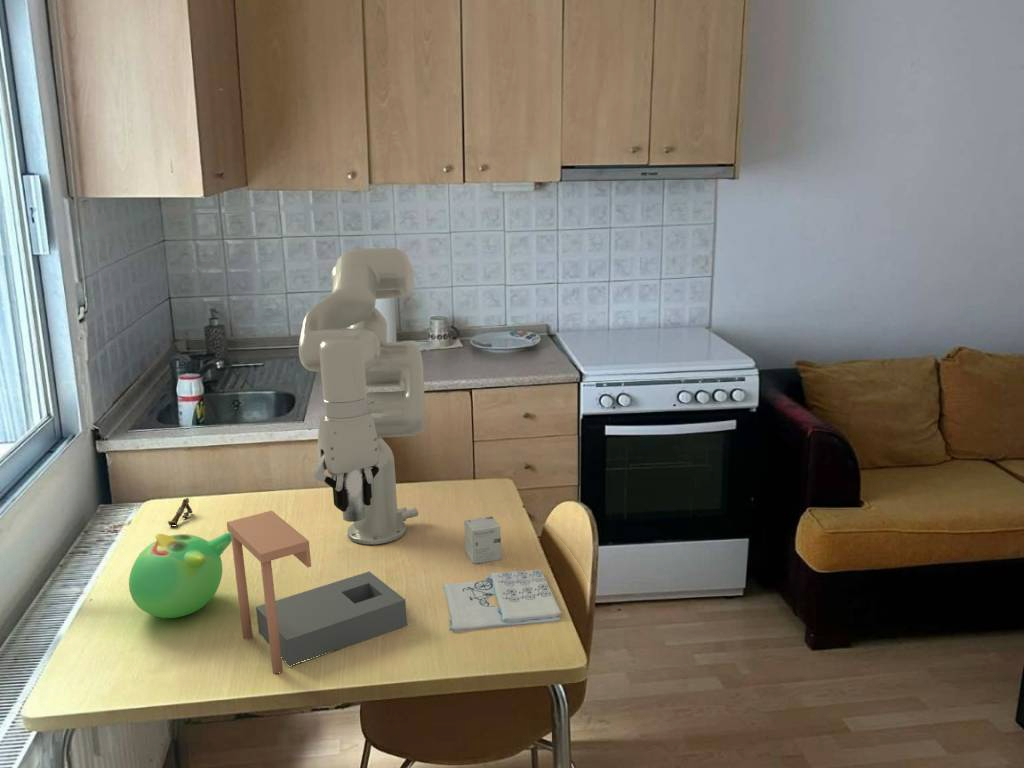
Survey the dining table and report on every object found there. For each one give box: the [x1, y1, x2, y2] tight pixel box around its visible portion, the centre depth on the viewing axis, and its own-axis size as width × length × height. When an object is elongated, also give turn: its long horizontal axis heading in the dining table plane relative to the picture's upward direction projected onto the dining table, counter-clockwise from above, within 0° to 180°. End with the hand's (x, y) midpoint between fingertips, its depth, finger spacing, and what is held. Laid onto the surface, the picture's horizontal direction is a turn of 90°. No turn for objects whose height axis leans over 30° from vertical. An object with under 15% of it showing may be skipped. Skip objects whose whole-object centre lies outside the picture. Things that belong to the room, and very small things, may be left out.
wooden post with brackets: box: [167, 497, 193, 527], centre depth 217 cm, size 2×8×4 cm, turn 168°
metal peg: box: [342, 469, 366, 523], centre depth 169 cm, size 4×4×10 cm
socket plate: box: [255, 571, 408, 667], centre depth 167 cm, size 22×14×5 cm, turn 125°
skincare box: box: [464, 516, 502, 565], centre depth 193 cm, size 6×6×7 cm
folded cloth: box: [442, 569, 562, 633], centre depth 175 cm, size 19×20×2 cm
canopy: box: [226, 510, 312, 674], centre depth 159 cm, size 8×16×22 cm, turn 35°
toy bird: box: [128, 531, 232, 619], centre depth 174 cm, size 18×17×15 cm
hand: (353, 505), depth 170 cm, fingers closed on metal peg, 4 cm apart
